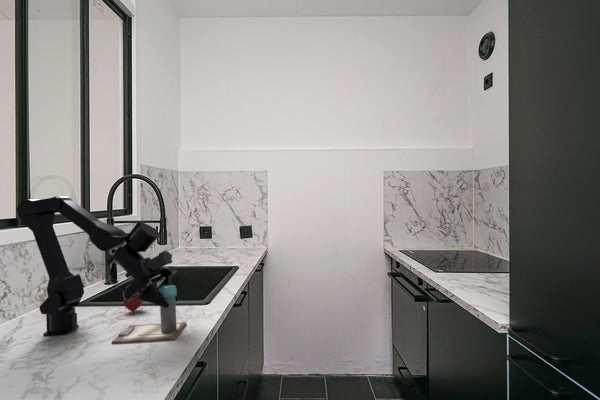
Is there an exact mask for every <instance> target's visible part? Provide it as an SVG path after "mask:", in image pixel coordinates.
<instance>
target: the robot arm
mask: <svg viewBox="0 0 600 400" xmlns="http://www.w3.org/2000/svg"><path fill="white" fill-rule="evenodd" d="M16 213H17V215H18V217H19V219H20V221H21V222H22V224H23V225H24V226H25V227H26V228H28V229H29V230H30V231H31V232H32V233H33V237H34V239H35V242H36V245H37V248H38V251H39V253H40V256H41V259H42V262H43V263H44V267H45V270H46V272H47V275H48V276H47V277H48V282H47V286H46V294H47V297H46V299H45V300H44V301H42V303H41V304H40V305H39V311H40V314H41V315H45V316H46V318H45V319H46V331H45V332H44V333H43V334H42V335H43V336H58V335H68V334H69V333H71V332H73V331H74V330H76V329H77V328H79V326H80V325H79V324H78V313H77V312H76V307H78V306H79V305H80V304H81V303H80V302H81V299H82V298H83V296H84V294H85V290H84V288H85V287H86V286H85V284H83V283H84V282H83V281H82V277H81V274H79V273H78V274H76V275H74V274H73V273H72V272H71V271H70V269H69V266H68V264H67V262H66V258H65V256H64V253H63V251H62V248H61V246H60V243H59V242H60V241H59V240H58V237H57V234H56V232H55V229H54V223H55V219H56V214H57V213H59V214H61V215H62V216H63V217H65V218H66V219H67V220H68V221H70V222H71V223H72V224H74V225H75V226H77V227H78V228H79V229H81V230H82V231H83V232H85V234H87V235H88V238H89V240H90V242H91V243H92V244H93V245H94V246H95V248H97V249H98V250H99V251H102V252H105V251H106V252H107V251H110V250H111V251H112V250H115V251H114V252H113V253H108V255H107V257H108V258H107V265H112V264H115V263H117V264H118V265H119V266H120V267H121V268H122V270H124V271H125V272H126V273H125V277H126V278H127V279H128V278H132V279H133V280H132V281H131V282H130V283H129V284H128V285H127V286H126V287H125V289H124V290H123V291H122V297H123V299H124V298H125V299H126V300H127V301H130V300H133V299H134V298H135V294H136V293H137V292H139V293H138V294H139V297H138V298H137V300H142V302H143V301H145V302H147V303H151V304H154V305H156V306H159V307H160V306H162V307H165V308H167V307H168V306H169V303H168V302H167V300H166V299H165V298H164V297H163V295H162V294H161V293H160V291H159V287H162V286H167V285H173V283H172V279H173V276H174V275H175V274H176V273H177V271H178V270H177V269H176V268H175V266H173V265H169V264H172V263H173V260H172V258H173V254H171V253H170V252H169V251H167V250H163V251H161V252H159V253H158V255H156V256H154V257H152V258H150V257H144V256H143V255H142V254H141V253H140V252H142V253H145V252H147V250H149V248H150V247H151V246H152V245H153V244H154V243H155V242H156V241H157V240H158V239H159V237H160V233H159V231H158V230H157V228H155V227H152V226H151V225H149V224H147V223H145V222H144V221H143V220H141V221H137V222H136V224H135V225H134V227H133V228H132V229H131V230H130V231H129V232H125V231H124V230H123V229H122V228H119V227H117V226H115V225H113V224H110V223H107V222H106V223H105V222H103V221H102V220H101V219H98V218H97V217H96V216H94V215H93V214H91V213H90V212H89V211H88V210H87V209H85V208H83V207H82V206H80V205H79V204H78V203H77V202H75V201H74V200H73V198H71V197H69V196H66V195H64V196H63V195H62V196H59V195H56V196H53V197H50V198H49V197H48V198H41V199H40V198H39V199H38V198H36V199H35V198H32V199H29V198H28V199H27V198H25V199H23V200H21V201H20V202H19V204H18V205H17V207H16ZM167 265H168V266H167ZM165 266H166V267H165ZM175 299H176V303H177V302H178V301H179V297H178V295H176V296H175Z"/></svg>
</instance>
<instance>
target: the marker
mask: <svg viewBox="0 0 600 400" xmlns="http://www.w3.org/2000/svg"><path fill="white" fill-rule="evenodd" d="M159 291H160V293H161V294H162V295H163V297H164V298H165V299H166V300H167V302H168V303H169V306H168V307H167V308H165V307H162V306H159V307H160V308H159V309H160V324H161V333H171V332H174V331H176V330H177V328H176V323H177V302H176V299H175V296H176V295H177V294H178V292H177V291H178V290H177V287H176V285H174V284H172V285H167V286H162V287H159ZM177 296H178V295H177Z"/></svg>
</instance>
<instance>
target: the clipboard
mask: <svg viewBox="0 0 600 400" xmlns="http://www.w3.org/2000/svg"><path fill="white" fill-rule="evenodd" d="M186 325H187V322H186V321H183V322H176V328H177V330H176V331H174V332H171V333H161V323H151V324H150V323H149V324H147V323H146V324H134V325H133V324H131V325H129V326H128V327H125V328H124V329H123V330H122V331H120V332H119V333H118V335H117V336H116V337H115V338H114V339H112V341H111V345H114V344H129V343H130V344H131V343H133V344H134V343H146V342H149V343H150V342H161V341H162V342H166V341H176V340H177V338H178V336H180V334H181V332H182V331H183V329H185V327H186Z"/></svg>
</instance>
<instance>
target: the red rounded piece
mask: <svg viewBox="0 0 600 400" xmlns="http://www.w3.org/2000/svg"><path fill="white" fill-rule="evenodd" d="M138 293H139V292H137V293H136V294H135V298H134V299H133V300H130V301H127V300H126V299H125V298H124V297H123V300H122V304H123V306H124V307H125V309H127V310H128V311H129V312H135V311H136V310H138V309H139V308H140V307H141V306H142V303H143V300H137V298H138V297H139V294H138Z"/></svg>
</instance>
